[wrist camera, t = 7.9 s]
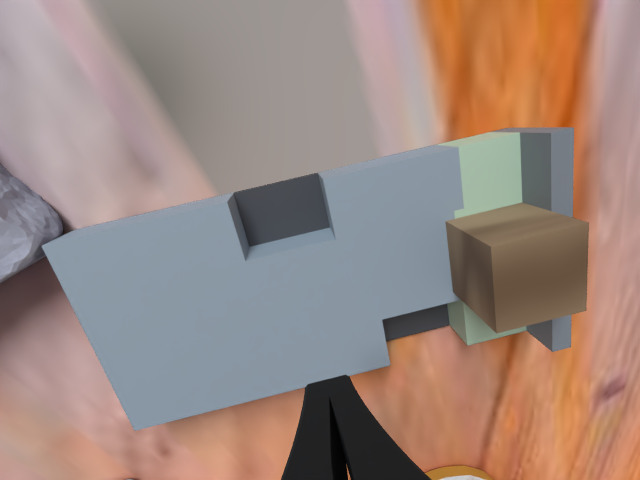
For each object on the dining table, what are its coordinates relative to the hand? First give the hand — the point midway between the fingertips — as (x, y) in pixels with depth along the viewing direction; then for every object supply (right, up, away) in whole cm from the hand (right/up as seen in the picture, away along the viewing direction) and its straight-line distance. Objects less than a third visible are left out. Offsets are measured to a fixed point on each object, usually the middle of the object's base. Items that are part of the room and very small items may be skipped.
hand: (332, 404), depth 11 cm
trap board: (-1, +3, +9) cm, 10 cm away
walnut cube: (+8, +5, +7) cm, 12 cm away
